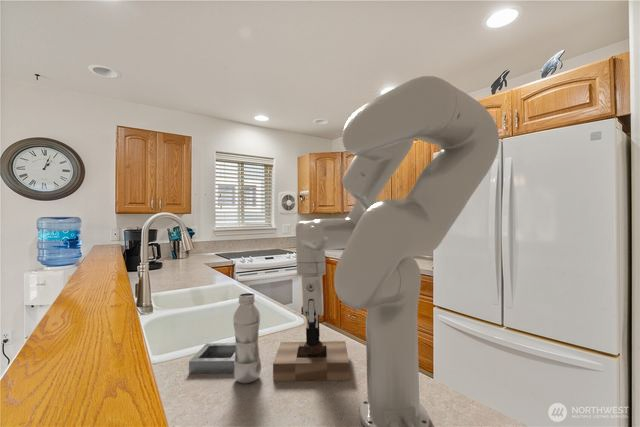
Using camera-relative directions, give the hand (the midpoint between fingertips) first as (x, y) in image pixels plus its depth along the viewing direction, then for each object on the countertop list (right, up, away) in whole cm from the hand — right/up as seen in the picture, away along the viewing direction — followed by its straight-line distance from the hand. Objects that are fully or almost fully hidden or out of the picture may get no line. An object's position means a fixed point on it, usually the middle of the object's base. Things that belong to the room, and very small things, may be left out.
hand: (313, 339), depth 71 cm
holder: (-25, -8, +3) cm, 27 cm away
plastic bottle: (-16, -7, -5) cm, 18 cm away
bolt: (0, -6, 0) cm, 6 cm away
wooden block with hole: (0, -7, 0) cm, 7 cm away
